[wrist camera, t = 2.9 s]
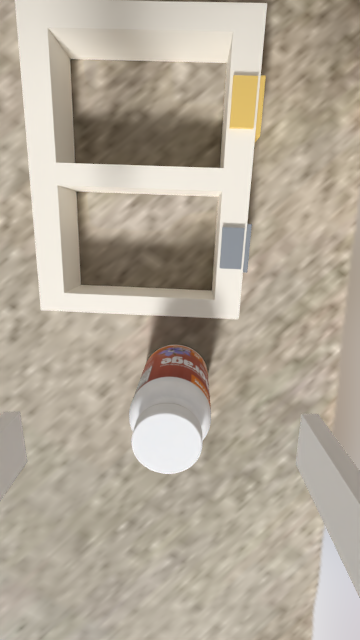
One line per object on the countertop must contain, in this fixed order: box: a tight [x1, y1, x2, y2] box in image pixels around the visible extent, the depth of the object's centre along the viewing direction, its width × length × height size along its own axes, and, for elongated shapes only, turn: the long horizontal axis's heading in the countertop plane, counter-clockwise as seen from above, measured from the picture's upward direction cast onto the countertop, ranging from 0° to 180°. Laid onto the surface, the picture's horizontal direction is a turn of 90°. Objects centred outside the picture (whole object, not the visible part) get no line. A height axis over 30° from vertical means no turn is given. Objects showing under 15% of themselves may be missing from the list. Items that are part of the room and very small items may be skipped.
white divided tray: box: [15, 0, 267, 319], centre depth 25 cm, size 16×20×4 cm
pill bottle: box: [129, 345, 211, 474], centre depth 26 cm, size 6×6×11 cm
